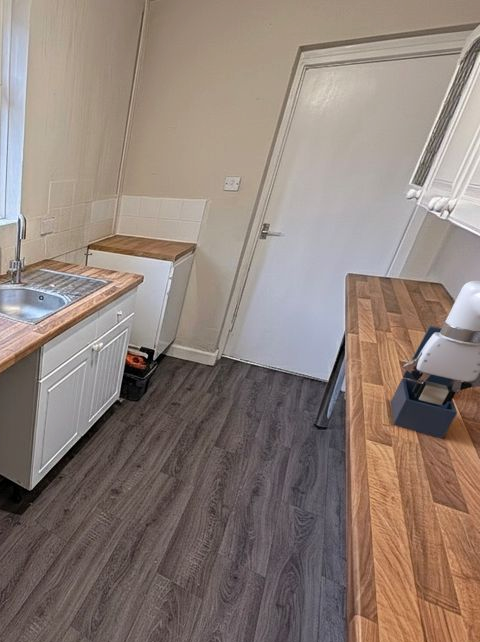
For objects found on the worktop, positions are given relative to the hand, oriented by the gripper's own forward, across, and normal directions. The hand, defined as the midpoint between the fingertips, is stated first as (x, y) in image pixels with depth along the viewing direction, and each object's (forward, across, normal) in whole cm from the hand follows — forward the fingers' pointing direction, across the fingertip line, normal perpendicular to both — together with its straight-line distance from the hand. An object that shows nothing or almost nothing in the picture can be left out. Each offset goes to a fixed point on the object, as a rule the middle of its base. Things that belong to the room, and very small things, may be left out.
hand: (429, 398), depth 105 cm
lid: (-8, 0, -10) cm, 13 cm away
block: (0, 0, 0) cm, 0 cm away
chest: (+8, 0, -4) cm, 9 cm away
